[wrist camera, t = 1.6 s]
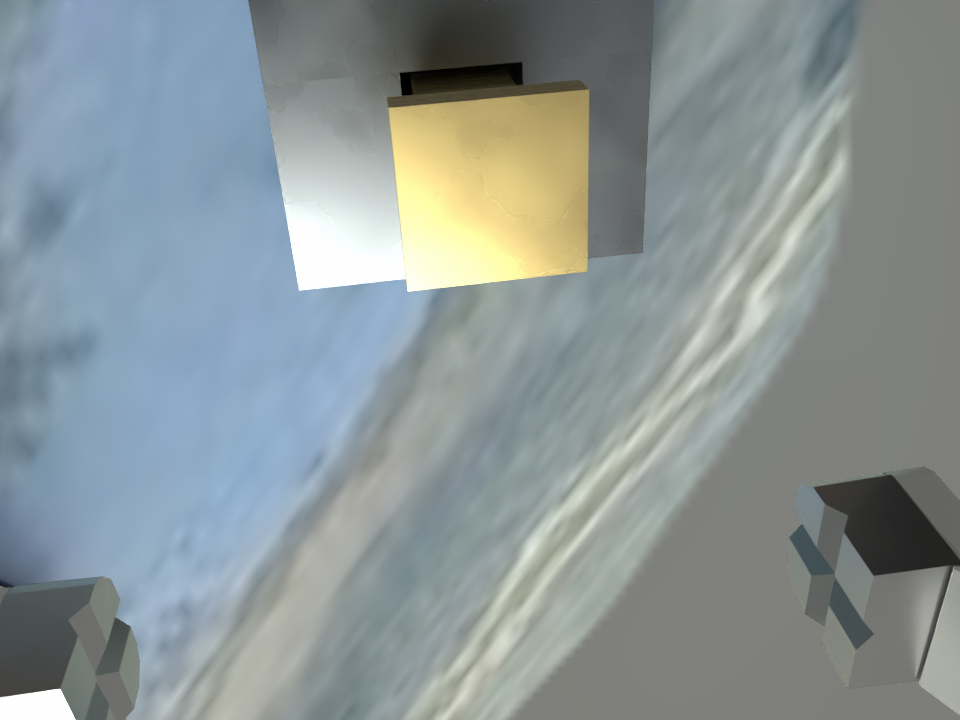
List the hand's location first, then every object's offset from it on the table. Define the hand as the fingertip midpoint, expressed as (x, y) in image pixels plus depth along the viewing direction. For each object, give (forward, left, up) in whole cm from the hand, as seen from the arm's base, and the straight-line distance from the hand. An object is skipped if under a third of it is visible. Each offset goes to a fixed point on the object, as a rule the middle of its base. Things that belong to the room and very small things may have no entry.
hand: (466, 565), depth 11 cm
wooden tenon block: (-1, -3, -22) cm, 22 cm away
